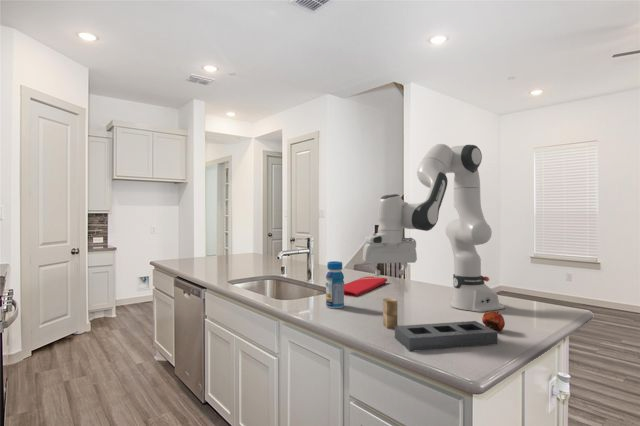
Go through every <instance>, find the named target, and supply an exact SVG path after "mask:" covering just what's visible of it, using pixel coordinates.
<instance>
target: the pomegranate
mask: <svg viewBox="0 0 640 426" xmlns="http://www.w3.org/2000/svg"><path fill="white" fill-rule="evenodd" d="M499 312H500V311H495V310H490V311H488V312H487V311H485V313H483V314H482V317H481V318H482V324H483V325H485V326H487V327H489V328H491V329H493V330H495V331H497V332H501V331H503V329H505V326H506V325H505V324H506V322H505V319H504V316H503V315H502V314H500V313H499Z"/></svg>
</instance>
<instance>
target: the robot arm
mask: <svg viewBox="0 0 640 426" xmlns="http://www.w3.org/2000/svg"><path fill="white" fill-rule="evenodd" d="M482 156H483V155H482V151H481V150H480V148H479V147H478V146H477V145H475V144H465V145H456V146H452V147H450V146H448V145H446V144H444V143H438V144H435V145H433V146H432V147H431V148H430V149H429V151H427V153H426V154H425V155H424V157H423V158H422V161H421V162H419V163H420V164H419V165H418V168H417V171H416V176H417V179H418V180H419V182H420V183H421V184H422V185H424V186H425V187H426V188H429V190H428V193H427V196H426V199H425V200H424V201H421V202H420V203H408V202H406V201H405V200H403V199H402V197H401V195H400V194H396V193H394V194H387V195H386V194H385V195H383V196H381V197H380V198H379V201H378V206H377V207H378V208H377V220H378V228H377V233H374V234H371V235H368V236H366V237H365V238H364V239H365V242H366V243H365V244H364V246H363V249H362V261H363V262H364V263H365V264H368V265H369V264H371V266H372V268H373V270H374V275H375V277H379V276H381V270H379V269H378V264H401V266H402V267H401V269H398V274H399V275H400V276H404V275H405V270H406V269H407V267H408V264H410V263H411V264H412V263H416V261H417V260H418V256H417V240H415V239H414V238H413V237H403V229H408V230H419V231H425V232H428V231H431V230H432V229H433V228H435V226H436V225H437V224H438V220H439V214H440V210H441V206H442V203H443V199H444V198H445V194H446V191H447V187H448V177H447V174H454V177H453V206H454V208H455V210H456V212H457V214H458V217H459V218H457V219H455V220H452V221H449V222H448V223H447V225H446V227H445V234H446V236H447V238H448V240H449V242H450V246H451V249H452V253H453V275H452V276H453V278H452V280H453V281H452V282H453V283H452V284H453V291H452V292H453V293H452V298H451V302H450V306H451V307H452V308H456V309H459V310H464V311H465V310H466V311H471V312H472V311H473V312H477V313H482V312H483V313H484V312H487V311H488V312H491V311H495V310H504V309H506V307H505V305H504V304H503V303H500V300H499V296H498V293H497V292H496V291H495V290H494V289H492V288H491V287H489V286H488V285H487V284H485V282H489V281H490V277H488V276H484V275H482V273H481V272H482V269H481V268H482V267H481V266H482V263H481V262H482V259H481V256H480V254H479V253H478V252H477V250H476V246H479V245H484V244H486V243H487V242H489V241H490V239H491V238H492V228H491V226H490V225H489V223H487V220H486V219H485V215H484V214H483V209H482V205H481V202H482V201H481V179H480V173H479V167H480V165H481V163H482V159H483V157H482Z"/></svg>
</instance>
